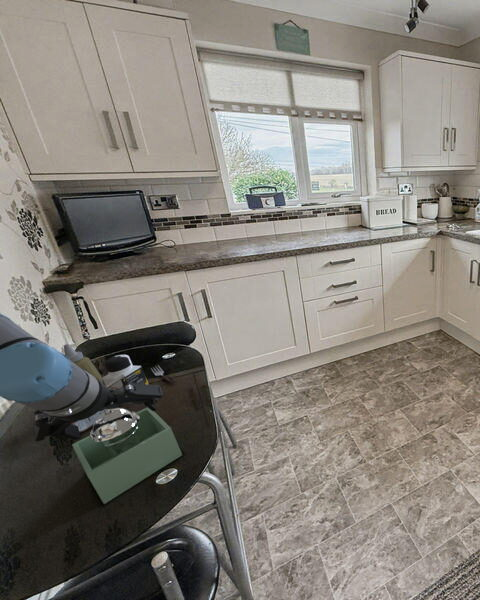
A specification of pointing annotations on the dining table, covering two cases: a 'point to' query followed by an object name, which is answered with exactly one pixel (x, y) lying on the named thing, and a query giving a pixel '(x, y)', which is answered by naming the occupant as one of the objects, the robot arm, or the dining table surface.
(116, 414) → the cup with straw
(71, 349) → the squeeze bottle
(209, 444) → the dining table surface
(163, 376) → the fork
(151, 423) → the bin
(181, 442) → the dining table surface
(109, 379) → the medicine bottle
